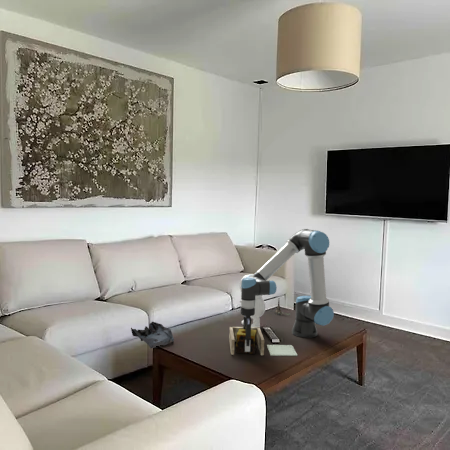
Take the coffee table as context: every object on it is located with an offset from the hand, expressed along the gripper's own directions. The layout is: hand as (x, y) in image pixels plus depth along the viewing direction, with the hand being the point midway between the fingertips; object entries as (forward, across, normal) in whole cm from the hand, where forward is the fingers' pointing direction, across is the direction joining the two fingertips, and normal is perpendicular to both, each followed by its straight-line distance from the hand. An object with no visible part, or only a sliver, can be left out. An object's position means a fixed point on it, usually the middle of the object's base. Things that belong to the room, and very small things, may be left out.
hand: (246, 347), depth 227 cm
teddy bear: (+2, -40, +8) cm, 41 cm away
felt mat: (+2, 0, +19) cm, 19 cm away
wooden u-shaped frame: (+2, -4, 0) cm, 4 cm away
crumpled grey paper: (+2, -10, -51) cm, 52 cm away
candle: (+2, 0, 0) cm, 2 cm away
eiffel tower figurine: (+2, -69, +29) cm, 75 cm away
